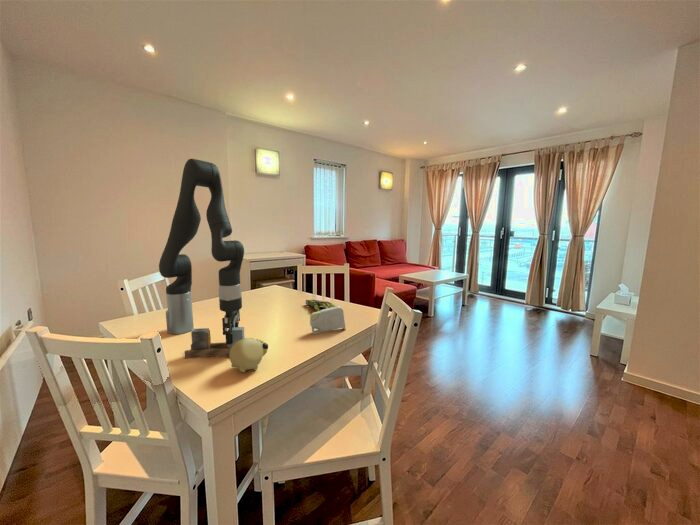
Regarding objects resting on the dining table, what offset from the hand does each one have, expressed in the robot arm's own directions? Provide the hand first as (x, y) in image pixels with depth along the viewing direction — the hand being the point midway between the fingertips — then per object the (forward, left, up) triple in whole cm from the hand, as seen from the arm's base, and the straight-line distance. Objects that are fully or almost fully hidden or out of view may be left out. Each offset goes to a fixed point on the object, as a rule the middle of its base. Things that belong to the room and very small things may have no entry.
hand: (232, 339), depth 108 cm
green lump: (+34, +48, -6) cm, 59 cm away
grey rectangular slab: (+36, +17, -5) cm, 40 cm away
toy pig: (+8, -13, -5) cm, 16 cm away
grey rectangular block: (+1, 0, -4) cm, 4 cm away
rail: (-6, 0, -5) cm, 7 cm away
